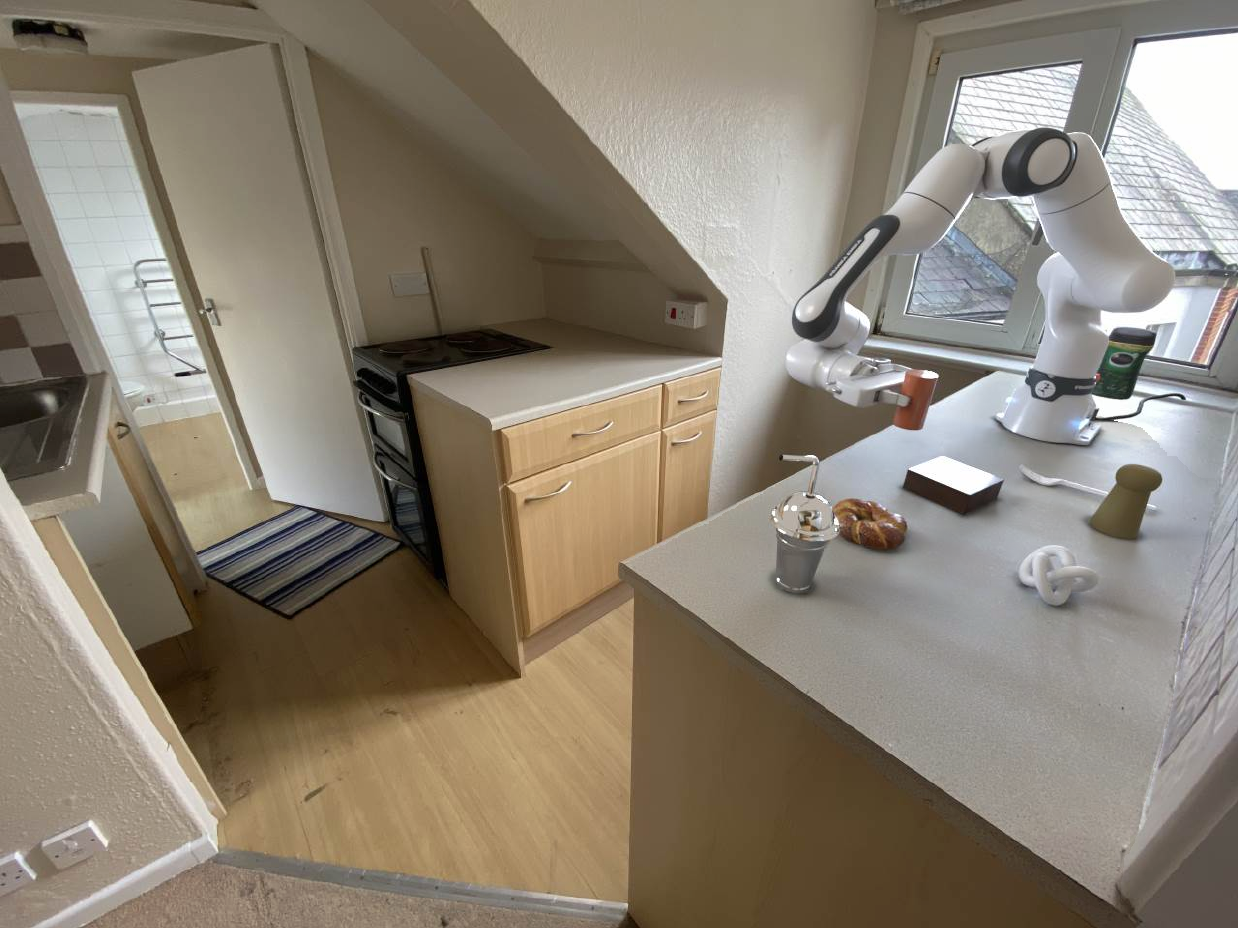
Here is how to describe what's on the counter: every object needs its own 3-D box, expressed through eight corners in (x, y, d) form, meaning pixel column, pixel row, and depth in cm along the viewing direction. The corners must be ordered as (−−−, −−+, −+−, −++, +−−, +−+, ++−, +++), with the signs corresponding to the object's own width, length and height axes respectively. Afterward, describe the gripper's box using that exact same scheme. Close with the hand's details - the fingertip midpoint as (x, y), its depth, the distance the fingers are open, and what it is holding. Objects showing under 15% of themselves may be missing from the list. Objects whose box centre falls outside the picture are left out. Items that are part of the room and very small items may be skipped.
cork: (1146, 540, 83) (1181, 479, 78) (1102, 536, 84) (1133, 474, 79) (1122, 520, 88) (1152, 461, 83) (1081, 516, 89) (1108, 457, 84)
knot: (1067, 621, 66) (1086, 584, 64) (998, 585, 72) (1013, 551, 70) (1092, 600, 70) (1111, 564, 67) (1025, 568, 76) (1040, 534, 73)
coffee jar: (1131, 396, 146) (1162, 328, 137) (1127, 403, 141) (1160, 333, 132) (1086, 388, 152) (1114, 323, 144) (1082, 394, 147) (1110, 327, 139)
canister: (902, 418, 102) (916, 368, 98) (928, 427, 98) (944, 375, 94) (886, 423, 100) (899, 371, 95) (912, 432, 96) (927, 379, 91)
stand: (936, 474, 102) (942, 455, 100) (997, 499, 94) (1004, 479, 92) (902, 488, 97) (907, 468, 95) (963, 515, 89) (970, 495, 87)
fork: (1155, 515, 89) (1160, 505, 89) (1015, 477, 101) (1018, 468, 101) (1155, 508, 92) (1160, 498, 91) (1018, 471, 104) (1021, 463, 103)
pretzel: (811, 519, 87) (815, 499, 85) (861, 506, 91) (865, 487, 89) (868, 560, 77) (873, 538, 76) (921, 543, 81) (927, 523, 79)
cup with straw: (830, 607, 68) (864, 469, 59) (758, 598, 69) (781, 462, 60) (820, 567, 75) (848, 439, 67) (755, 560, 77) (775, 433, 68)
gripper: (823, 370, 100) (889, 391, 90) (889, 356, 110) (955, 374, 99) (816, 401, 103) (880, 425, 92) (881, 386, 113) (945, 405, 102)
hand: (919, 398), depth 96 cm, fingers closed on canister, 5 cm apart
